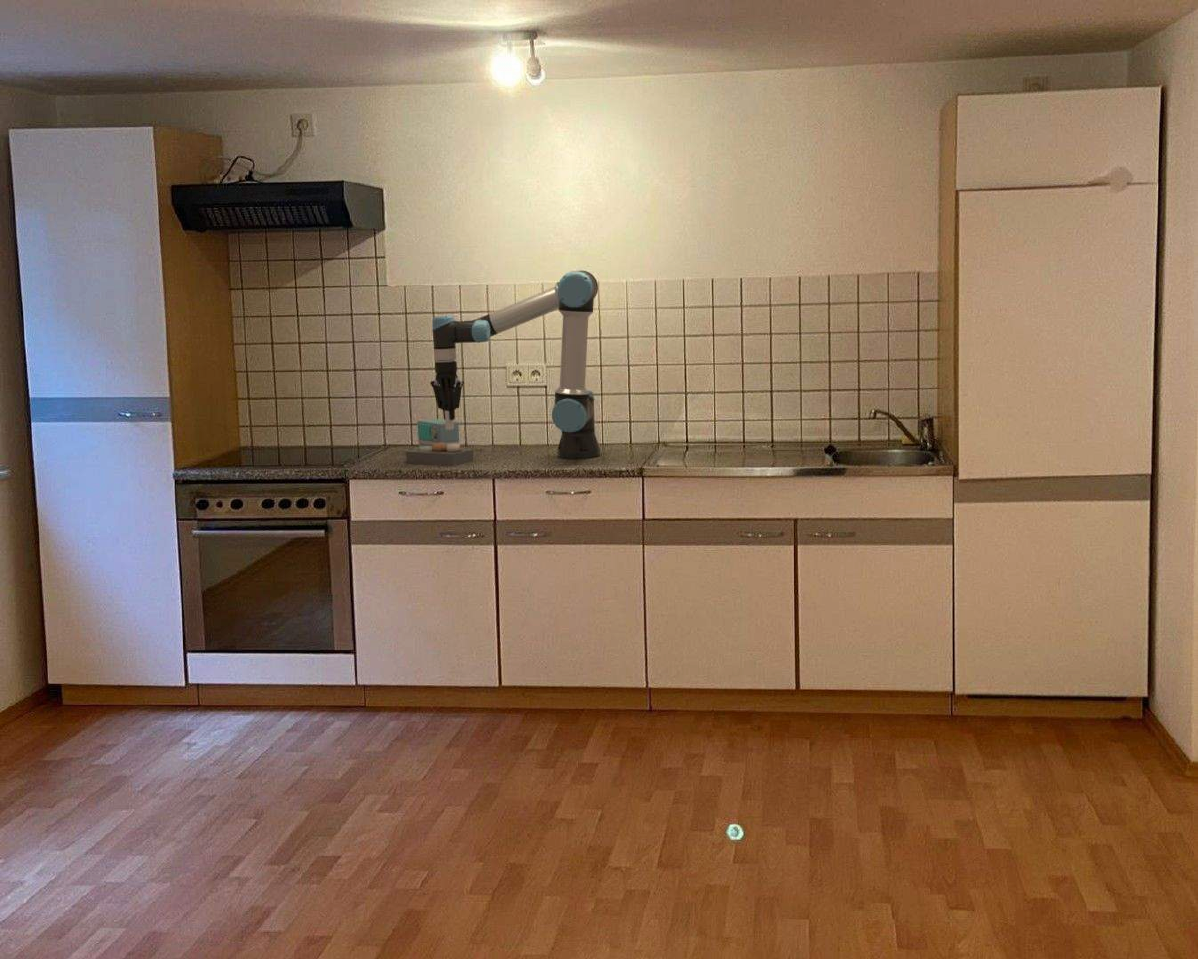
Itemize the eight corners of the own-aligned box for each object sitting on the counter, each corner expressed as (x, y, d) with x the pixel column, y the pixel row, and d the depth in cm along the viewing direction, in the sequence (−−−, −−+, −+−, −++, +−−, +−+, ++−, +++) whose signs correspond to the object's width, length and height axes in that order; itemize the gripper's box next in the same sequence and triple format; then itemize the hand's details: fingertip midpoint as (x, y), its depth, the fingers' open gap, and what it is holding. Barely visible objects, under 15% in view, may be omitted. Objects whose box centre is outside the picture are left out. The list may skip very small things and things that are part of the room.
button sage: (434, 453, 515) (434, 446, 514) (427, 455, 511) (426, 447, 511) (424, 452, 517) (424, 445, 517) (417, 454, 513) (416, 447, 513)
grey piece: (473, 460, 511) (473, 449, 511) (452, 465, 501) (452, 454, 500) (427, 457, 521) (427, 446, 521) (406, 462, 511) (406, 451, 511)
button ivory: (462, 450, 508) (462, 443, 508) (454, 452, 505) (454, 445, 504) (452, 450, 511) (451, 443, 510) (444, 451, 507) (444, 444, 506)
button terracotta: (448, 449, 511) (448, 442, 511) (440, 451, 508) (440, 444, 507) (438, 449, 514) (437, 442, 513) (430, 451, 510) (430, 443, 510)
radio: (416, 453, 535) (413, 398, 532) (437, 450, 540) (434, 396, 537) (438, 457, 523) (436, 401, 519) (460, 454, 528) (457, 399, 525)
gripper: (467, 360, 503) (471, 428, 507) (437, 360, 510) (441, 427, 514) (454, 362, 497) (458, 431, 501) (423, 362, 504) (428, 430, 508)
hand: (449, 429), depth 507 cm, fingers closed
